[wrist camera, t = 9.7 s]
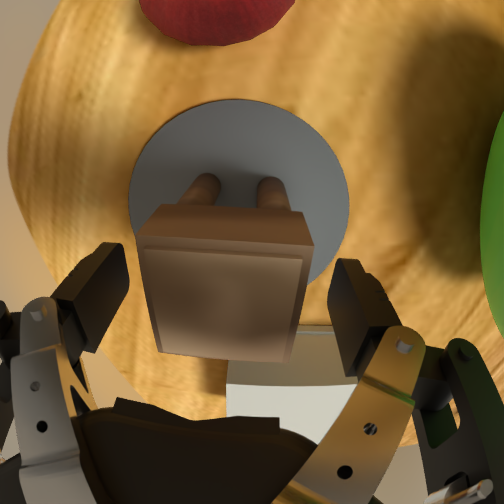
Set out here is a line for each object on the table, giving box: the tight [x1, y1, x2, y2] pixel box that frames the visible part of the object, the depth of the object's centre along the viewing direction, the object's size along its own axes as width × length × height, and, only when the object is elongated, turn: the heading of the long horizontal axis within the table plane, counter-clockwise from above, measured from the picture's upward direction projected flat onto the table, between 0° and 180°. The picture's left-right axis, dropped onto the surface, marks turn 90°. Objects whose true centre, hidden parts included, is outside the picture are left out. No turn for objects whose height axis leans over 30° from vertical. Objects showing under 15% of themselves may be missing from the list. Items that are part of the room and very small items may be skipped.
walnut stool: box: [135, 173, 315, 363], centre depth 11 cm, size 5×5×7 cm
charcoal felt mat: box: [128, 100, 349, 285], centre depth 15 cm, size 12×12×1 cm
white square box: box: [226, 325, 358, 444], centre depth 19 cm, size 10×10×5 cm
